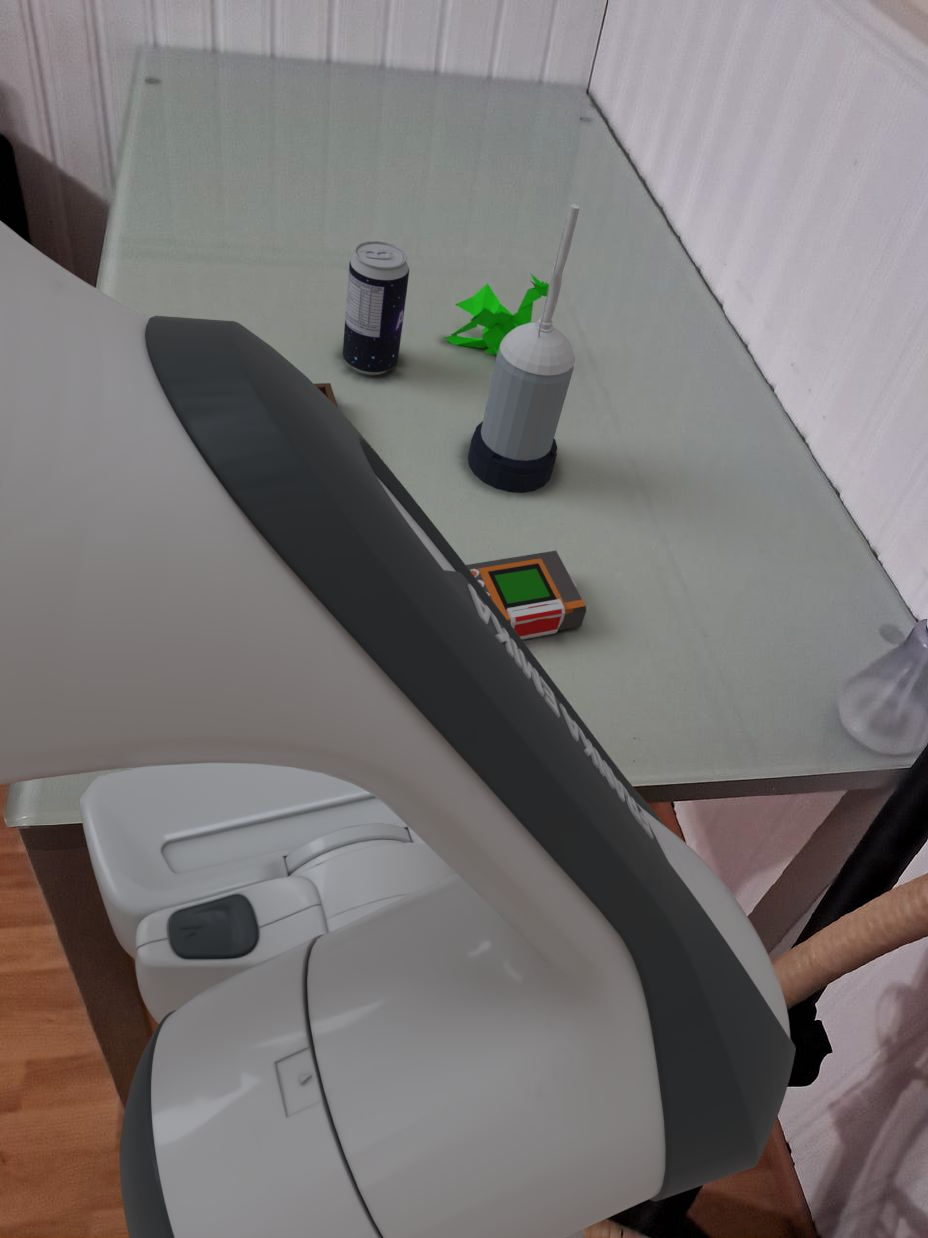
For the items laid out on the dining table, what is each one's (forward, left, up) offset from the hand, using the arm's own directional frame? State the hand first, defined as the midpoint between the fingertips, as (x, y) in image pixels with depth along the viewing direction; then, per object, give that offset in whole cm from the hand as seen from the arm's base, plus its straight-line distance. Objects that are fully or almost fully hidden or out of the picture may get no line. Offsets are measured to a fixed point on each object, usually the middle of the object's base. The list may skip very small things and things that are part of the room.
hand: (289, 674), depth 47 cm
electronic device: (+19, +18, -18) cm, 32 cm away
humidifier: (+27, +36, -18) cm, 49 cm away
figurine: (+31, +55, -18) cm, 66 cm away
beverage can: (+17, +53, -18) cm, 59 cm away
